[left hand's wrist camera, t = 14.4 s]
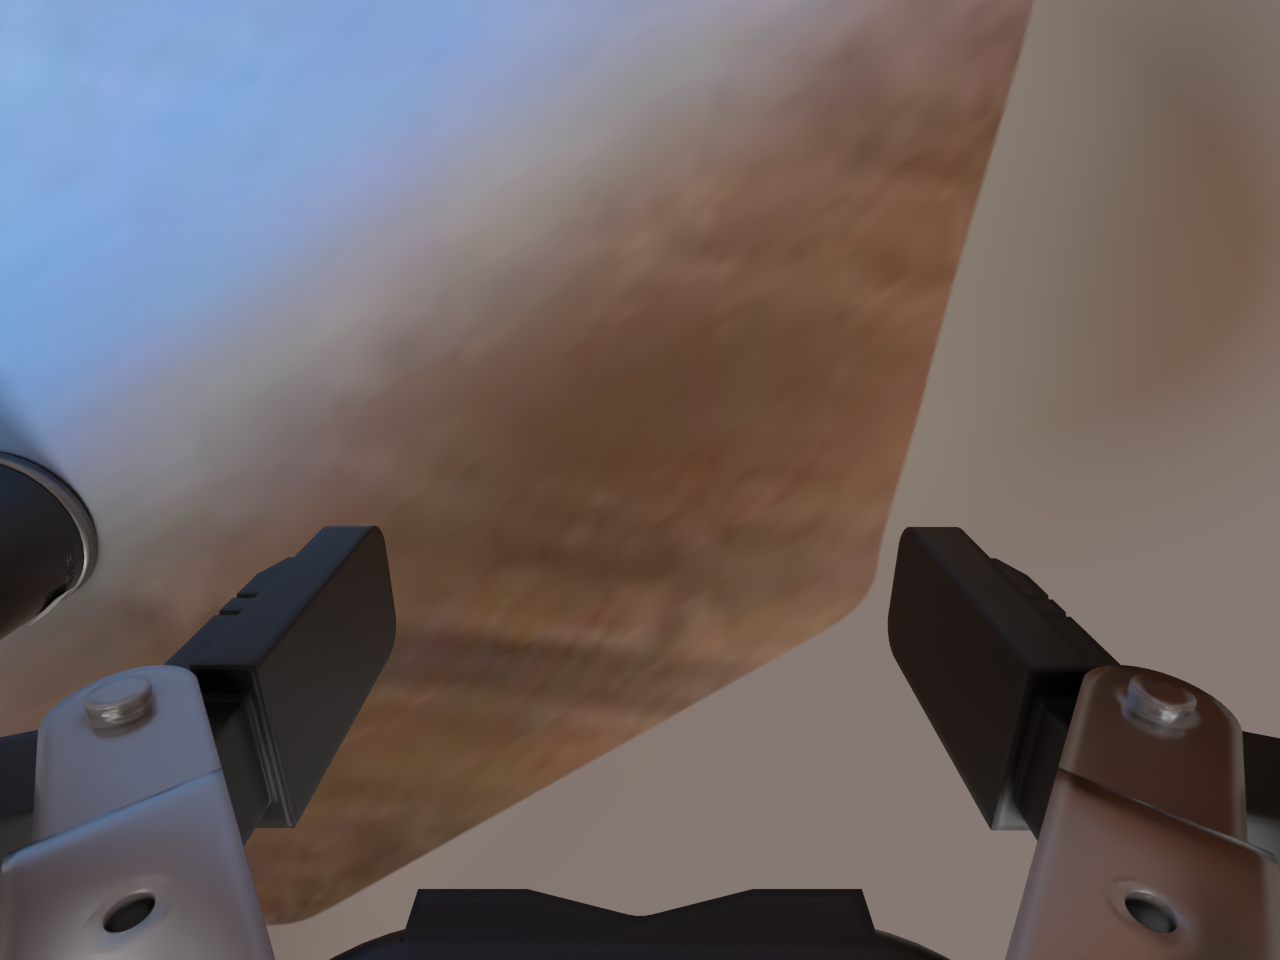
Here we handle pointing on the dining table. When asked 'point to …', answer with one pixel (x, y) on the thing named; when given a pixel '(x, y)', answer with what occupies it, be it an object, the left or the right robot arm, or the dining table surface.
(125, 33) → the dining table surface
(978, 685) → the left robot arm
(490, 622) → the dining table surface
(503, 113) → the dining table surface
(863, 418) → the dining table surface
